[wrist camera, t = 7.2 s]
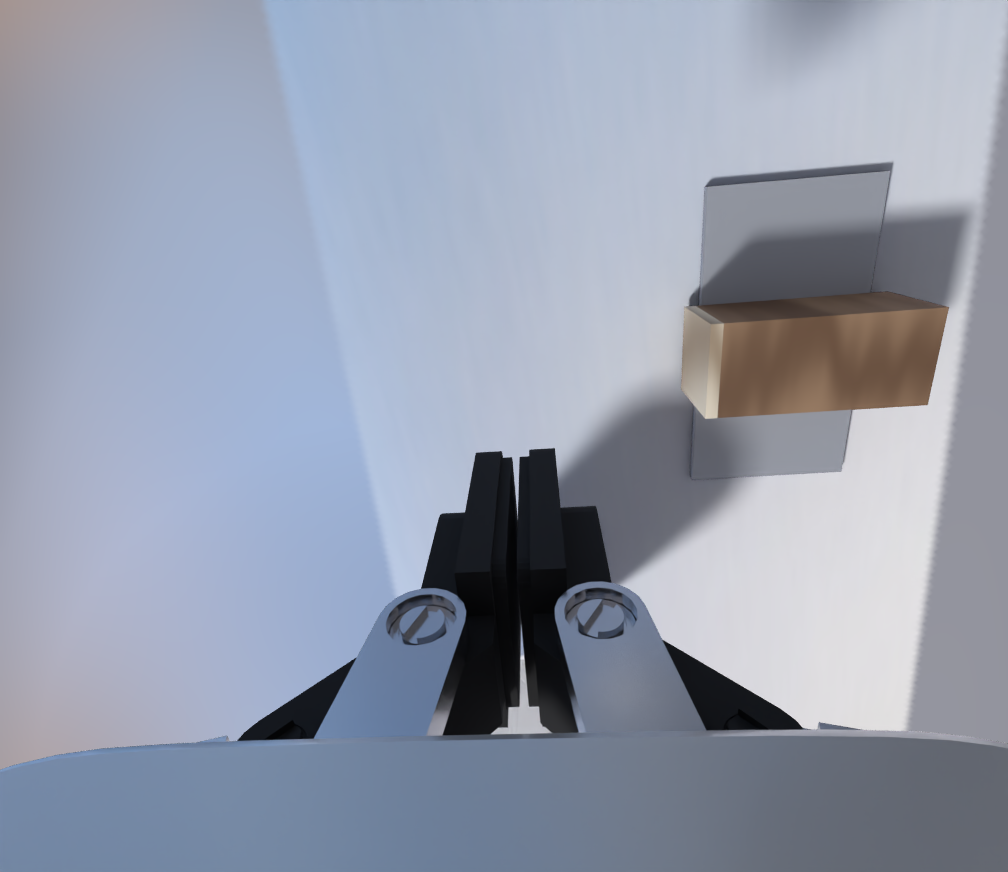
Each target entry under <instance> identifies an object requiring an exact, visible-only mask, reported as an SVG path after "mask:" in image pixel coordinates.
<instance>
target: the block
mask: <svg viewBox="0 0 1008 872" xmlns="http://www.w3.org/2000/svg"><path fill="white" fill-rule="evenodd" d="M948 309H949V307H946V306H942V305H938V304H934V303H930V302H927V301H923V300H919V299H915V298H911V297H907V296H903V295H899V294H895V293H892V292H888V291H887V292H874V293H860V294H847V295H833V296H820V297H807V298H793V299H780V300H766V301H753V302H739V303H726V304H713V305H699V306H686V307H684V331H683V355H682V379H681V390H682V391H683V392H684V394H685V395H686V396H687V397H688V398H689V400H690V401H691V402H692V403H693V405H694V406H695V407H696V408H697V409H698V411H699V412H700V413H701V414H702V415H703V417H704V418H705V419H711V418H727V417H743V416H759V415H775V414H791V413H807V412H823V411H839V410H855V409H871V408H887V407H903V406H919V405H928V401H929V396H930V391H931V387H932V382H933V378H934V373H935V369H936V364H937V359H938V355H939V350H940V346H941V341H942V336H943V332H944V327H945V323H946V318H947V314H948Z"/></svg>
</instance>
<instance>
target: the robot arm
mask: <svg viewBox="0 0 1008 872" xmlns="http://www.w3.org/2000/svg"><path fill="white" fill-rule="evenodd" d="M521 627H522V637H523V648H524V659H525V670H526V681H527V692H528V703H529V707H539V713H540V723H541V724H542V727H546V728H547V729H548V730H549V731H550V732H552V733H536V734H491V733H493V732H494V731H495V730H496V729H497V728H508V711H509V707H519V706H520V658H521ZM0 872H1008V743H1004V742H998V741H992V740H987V739H981V738H975V737H970V736H960V735H949V734H940V733H930V732H919V731H877V730H861V729H855V728H849V727H843V726H837V725H832V724H826V723H820V722H819V724H818V729H817V730H811V729H805V728H802V727H801V726H800V724H799V723H798V722H797V721H796V720H795V719H793V718H792V717H791V716H789V715H788V714H787V713H785V712H784V711H783V710H781V709H780V708H778V707H776V706H775V705H773V704H771V703H769V702H768V701H766V700H764V699H763V698H761V697H759V696H758V695H756V694H754V693H752V692H751V691H749V690H747V689H746V688H744V687H742V686H740V685H739V684H737V683H735V682H734V681H732V680H730V679H729V678H727V677H725V676H723V675H722V674H720V673H718V672H717V671H715V670H713V669H711V668H710V667H708V666H706V665H705V664H703V663H701V662H700V661H698V660H696V659H694V658H693V657H691V656H689V655H688V654H686V653H684V652H683V651H681V650H679V649H677V648H676V647H674V646H672V645H671V644H669V643H667V642H665V641H664V640H662V638H661V636H660V634H659V632H658V630H657V628H656V626H655V624H654V622H653V620H652V618H651V616H650V614H649V612H648V610H647V608H646V606H645V604H644V603H643V602H642V600H641V599H640V597H639V596H638V595H636V594H635V593H634V592H632V591H631V590H629V589H628V588H625V587H623V586H620V585H618V584H614V583H611V578H610V573H609V568H608V563H607V558H606V553H605V548H604V543H603V538H602V533H601V528H600V523H599V518H598V513H597V509H596V506H587V507H567V508H560V498H559V488H558V477H557V467H556V456H555V448H552V449H534V450H529V456H528V457H520V464H519V500H518V519H517V507H516V495H515V484H514V472H513V461H512V457H510V458H503V455H502V451H499V452H481V453H476V455H475V461H474V466H473V472H472V477H471V483H470V488H469V494H468V500H467V505H466V511H465V513H445V514H441V515H440V517H439V520H438V524H437V528H436V532H435V536H434V540H433V544H432V548H431V552H430V555H429V559H428V563H427V567H426V571H425V575H424V579H423V583H422V587H421V589H419V590H415V591H411V592H408V593H405V594H403V595H401V596H399V597H397V598H396V599H394V600H393V601H392V602H391V603H389V604H388V605H387V606H386V607H385V608H384V610H383V611H382V612H381V614H380V615H379V617H378V619H377V621H376V623H375V624H374V626H373V628H372V630H371V632H370V634H369V636H368V637H367V639H366V641H365V643H364V645H363V647H362V649H361V651H360V652H359V654H358V656H357V658H355V659H354V660H352V661H350V662H349V663H347V664H346V665H344V666H343V667H341V668H340V669H338V670H337V671H335V672H334V673H332V674H330V675H329V676H327V677H326V678H325V679H323V680H321V681H320V682H318V683H317V684H315V685H314V686H312V687H310V688H309V689H307V690H306V691H304V692H303V693H301V694H300V695H298V696H297V697H295V698H294V699H292V700H291V701H289V702H288V703H286V704H284V705H283V706H281V707H280V708H278V709H277V710H275V711H274V712H272V713H271V714H269V715H267V716H266V717H264V718H263V719H261V720H260V721H258V722H257V723H256V724H254V725H253V726H252V727H251V728H249V729H248V730H247V731H246V732H244V734H243V735H242V736H241V737H240V738H239V739H238V741H229V739H228V736H223V737H218V738H214V739H210V740H205V741H201V742H196V743H177V744H159V745H145V746H130V747H115V748H102V749H94V750H88V751H80V752H73V753H66V754H59V755H54V756H50V757H46V758H42V759H37V760H33V761H29V762H25V763H20V764H16V765H12V766H9V767H7V768H4V769H1V770H0Z"/></svg>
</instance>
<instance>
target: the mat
mask: <svg viewBox="0 0 1008 872" xmlns="http://www.w3.org/2000/svg"><path fill="white" fill-rule="evenodd" d="M889 177H890V171H882V172H870V173H859V174H847V175H836V176H824V177H813V178H801V179H790V180H778V181H767V182H755V183H744V184H733V185H721V186H710V187H705V191H704V211H703V231H702V251H701V271H700V291H699V305H713V304H726V303H739V302H753V301H766V300H780V299H793V298H807V297H820V296H833V295H847V294H860V293H871V287H872V281H873V275H874V269H875V262H876V256H877V250H878V244H879V238H880V232H881V226H882V220H883V214H884V207H885V201H886V195H887V189H888V183H889ZM850 415H851V410H839V411H823V412H807V413H791V414H775V415H759V416H743V417H727V418H711V419H705V418H704V417H703V415H702V414H701V413H700V412H699V411H698V409H697V408H696V407H695V406H694V410H693V430H692V450H691V470H690V477H691V479H692V480H701V479H719V478H736V477H754V476H772V475H789V474H807V473H825V472H841V470H842V464H843V458H844V452H845V446H846V439H847V433H848V427H849V421H850Z"/></svg>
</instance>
